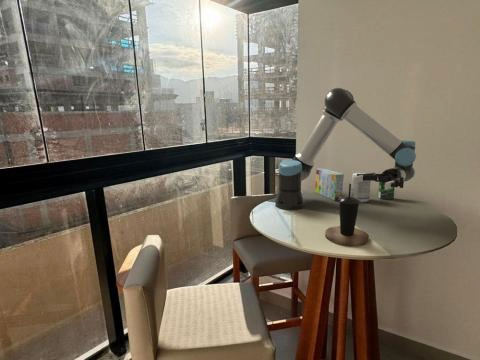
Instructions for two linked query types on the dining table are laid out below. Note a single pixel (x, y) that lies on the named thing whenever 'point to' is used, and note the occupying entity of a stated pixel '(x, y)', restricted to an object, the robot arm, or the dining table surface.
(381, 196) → the coffee box
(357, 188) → the supplement tub
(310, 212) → the dining table surface
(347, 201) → the drinking cup
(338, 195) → the snack box
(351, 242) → the coaster board
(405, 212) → the dining table surface
